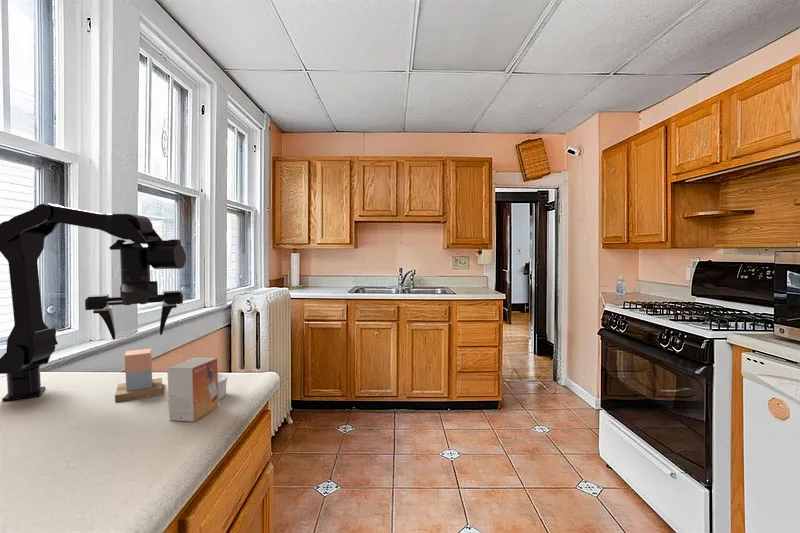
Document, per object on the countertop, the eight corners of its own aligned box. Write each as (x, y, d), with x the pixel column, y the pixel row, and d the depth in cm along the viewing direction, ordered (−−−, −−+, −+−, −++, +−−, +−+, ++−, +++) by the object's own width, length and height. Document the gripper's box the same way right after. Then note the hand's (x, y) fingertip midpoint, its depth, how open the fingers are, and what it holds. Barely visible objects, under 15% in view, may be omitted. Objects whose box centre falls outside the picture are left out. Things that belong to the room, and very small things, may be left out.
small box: (193, 422, 81) (191, 368, 81) (168, 420, 82) (166, 367, 82) (219, 407, 89) (218, 357, 88) (196, 405, 90) (194, 356, 90)
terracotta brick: (127, 368, 100) (126, 351, 99) (151, 365, 102) (151, 348, 102) (125, 373, 95) (124, 355, 95) (151, 370, 98) (150, 352, 97)
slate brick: (127, 385, 100) (126, 368, 100) (152, 381, 102) (151, 365, 102) (126, 391, 95) (125, 373, 95) (152, 387, 98) (151, 370, 98)
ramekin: (197, 408, 89) (196, 388, 89) (176, 400, 94) (175, 380, 94) (236, 396, 96) (235, 377, 96) (214, 389, 101) (214, 371, 101)
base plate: (118, 390, 101) (118, 384, 100) (162, 383, 105) (161, 377, 105) (115, 402, 93) (115, 395, 93) (162, 394, 97) (162, 388, 97)
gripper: (79, 272, 86) (83, 349, 87) (183, 269, 95) (185, 338, 96) (87, 270, 96) (90, 339, 96) (180, 267, 105) (182, 330, 106)
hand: (138, 336), depth 98 cm, fingers open, 9 cm apart
